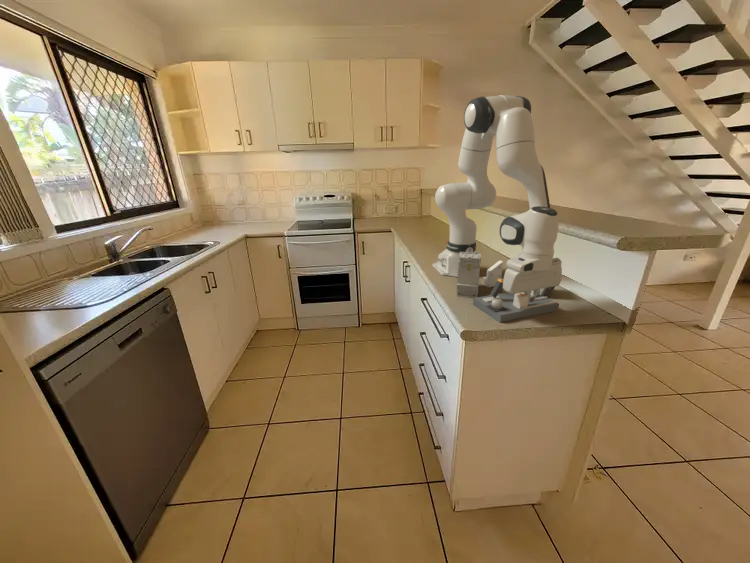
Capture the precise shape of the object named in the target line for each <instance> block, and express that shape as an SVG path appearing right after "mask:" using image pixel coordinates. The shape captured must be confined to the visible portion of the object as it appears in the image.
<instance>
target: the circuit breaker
mask: <svg viewBox="0 0 750 563" xmlns="http://www.w3.org/2000/svg"><path fill="white" fill-rule="evenodd" d="M481 259H482V253H481V252H476V251H475V252H460V254H459V264H458V277H457V282H456V295H455V296H456V297H462V298H463V297H464V298H477V297H478V294H479V283H480V271H481V261H482V260H481Z"/></svg>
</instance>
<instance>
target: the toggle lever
mask: <svg viewBox="0 0 750 563" xmlns="http://www.w3.org/2000/svg"><path fill="white" fill-rule="evenodd" d="M503 280H504V279H502V278H501V279H499V278H498V280H497V283H496V284H495V286H493V288H492V290H491V291H490V294H489V295H491V296H493V297H495V298H496V297H497V295H498V294H500V291H501V290H502V288H503Z"/></svg>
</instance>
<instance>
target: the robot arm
mask: <svg viewBox="0 0 750 563" xmlns="http://www.w3.org/2000/svg"><path fill="white" fill-rule="evenodd" d="M531 114H532V104H531V101H530V100H529V99H528V98H527V97H524V96H521V95H509V94H508V95H507V94H504V95H503V94H499V95H491V96H479V97H476V98H475V97H474V98H472V99H471V100H470V101H469V102H468V103H467V105H466V108H465V109H464V112H463V123H464V126H465V129H464V133H463V137H462V141H461V145H460V146H461V147H460V150H459V156H458V160H457V161H458V162H457V168H458V170H459V171H460V172H461V173H463V175H466V176H467V180H466V182H450V183H446V184H443V185H440V186H439V187H438V188H437V190H436V191H435V194H434V195H435V196H434V200H435V201H434V202H435V204H436V206H437V207H438V209H439V210H441V211H442V212H443V213H444V214H445V215H446V217H447V220H448V224H449V225H448V226H449V238H448V239H449V240H447V241H446V244H447V245H446V248H445V249H444V250H443V251H441V252H440V253H439V254H438V256H437V261H436V262H434V263H432V267H433V268H434V269H435V270H436V271H437V272H438V273H439V274H440V275H441V276H448V277H449V276H450V277H455V278H456V277H457V278H458V264H459V254H460V252H476V251H477V241H476V240H477V238H476V237H477V224H476V222H475V221H474V220H472V219H471V218H469V217H467V214H466V211H467V210H481V209H484V208H488V207H491V206H492V205H493V204H494V202H495V201H496V197H497V190H496V187H495V185H493V184H492V182H491V181H490V179H489V175H488V166H489V160H490V155H491V152H492V147H493V141H494V138H495V141H496V142H495V143H496V144H495V150H496V152H495V153H496V155H495V156H496V164H497V167H498V168H499V170H500V172H501V173H502V174H504V175H505V176H507V177H509V178H511V179H513V180H516V181H517V182H519V183H521V184H522V185H523V187H525V189H526V190H525V191H526V193H527V200H528V205H529V206H528V207H529V209H528V210H527V211H525V212H522V213H518V214H515V215H511V216H507V217H505V218H504V219H503V220H502V222H501V223H500V226H499V237H500V239H501V240H502V242H504V244H506V245H510V246H521V253H519V254H517V255H515V256H514V257H511V258H510V259H508V260H506V264H505V265H506V267H507V268H506V270H505V272H504V274H503V275H504V276H503V279H502V280H503V287H502V288H503V289H502V290H503V291H504V292H505V293H506V292H508V293H510V294H514V293H520V292H523V293H524V294H526V295H528V296H529V299H528V302H533V301H535V299H536V296H537V295H538V293H539V292H540V289H542V288H548V287H553V286H555V287H558V286H559V285H560V284H561V282H562V277H563V276H562V275H563V274H562V273H563V272H562V271H563V269H562V267H563V266H562V265H563V264H562V263H563V262H562V260H561V259H560V258H559V257H554V255H555V246H554V245H555V243H556V241H557V239H558V233H559V227H560V226H559V225H560V220H559V219H560V218H559V214H558V211H556V209H554V208H552V207H551V203H550V198H549V191H548V185H547V184H548V183H547V179H546V178H547V177H546V174H545V170H544V167H543V166H542V164H541V163H540V161H539V158H538V155H537V151H536V140H535V138H536V137H535V130H534V129H535V128H534V122H533V119H532V115H531ZM531 290H532V292H531ZM529 293H531V294H529Z"/></svg>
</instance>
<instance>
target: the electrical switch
mask: <svg viewBox="0 0 750 563" xmlns="http://www.w3.org/2000/svg"><path fill="white" fill-rule="evenodd" d="M555 288H556V286H553V287H548V288H542V289H540V295H542V296H544V297H548V298H550V297H551V295H552V293H553V291H554V290H555Z"/></svg>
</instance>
